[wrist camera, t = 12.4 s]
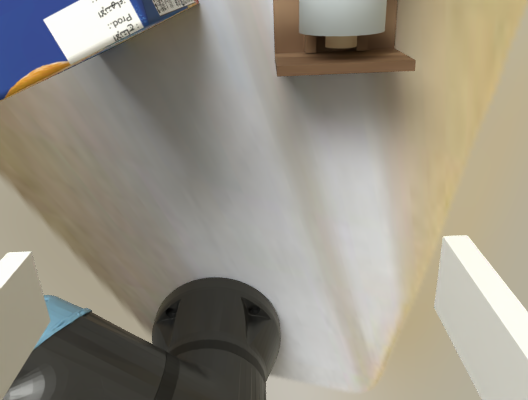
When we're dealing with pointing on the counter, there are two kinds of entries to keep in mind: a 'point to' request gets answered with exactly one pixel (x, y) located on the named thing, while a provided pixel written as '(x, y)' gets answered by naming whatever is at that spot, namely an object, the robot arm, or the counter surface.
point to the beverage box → (68, 34)
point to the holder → (333, 59)
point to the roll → (341, 20)
